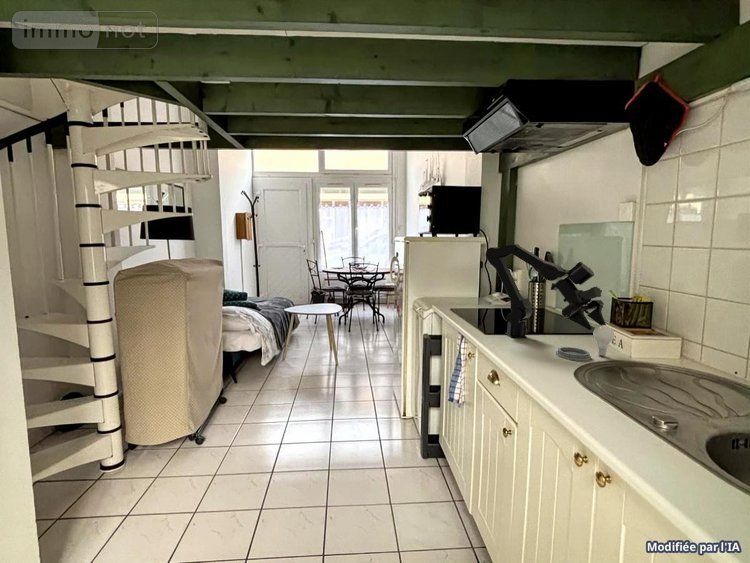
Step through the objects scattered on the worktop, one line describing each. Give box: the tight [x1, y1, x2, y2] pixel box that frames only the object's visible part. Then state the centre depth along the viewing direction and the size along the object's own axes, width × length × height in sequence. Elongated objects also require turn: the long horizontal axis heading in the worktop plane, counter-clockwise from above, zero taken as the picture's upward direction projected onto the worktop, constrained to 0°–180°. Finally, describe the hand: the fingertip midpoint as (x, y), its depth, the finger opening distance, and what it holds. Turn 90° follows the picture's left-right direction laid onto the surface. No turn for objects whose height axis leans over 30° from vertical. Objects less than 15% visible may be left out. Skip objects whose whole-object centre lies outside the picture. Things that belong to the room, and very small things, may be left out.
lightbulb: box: [592, 324, 615, 357], centre depth 139 cm, size 6×6×11 cm
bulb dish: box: [555, 346, 592, 362], centre depth 138 cm, size 11×11×2 cm
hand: (598, 327), depth 140 cm, fingers open, 9 cm apart
